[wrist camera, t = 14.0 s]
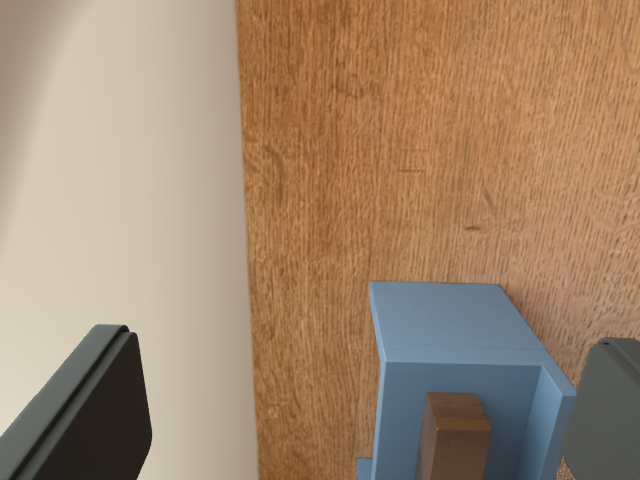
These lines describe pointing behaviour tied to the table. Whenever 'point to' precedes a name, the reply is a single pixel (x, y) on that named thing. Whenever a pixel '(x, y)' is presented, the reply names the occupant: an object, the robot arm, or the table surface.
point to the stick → (452, 438)
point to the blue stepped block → (464, 377)
